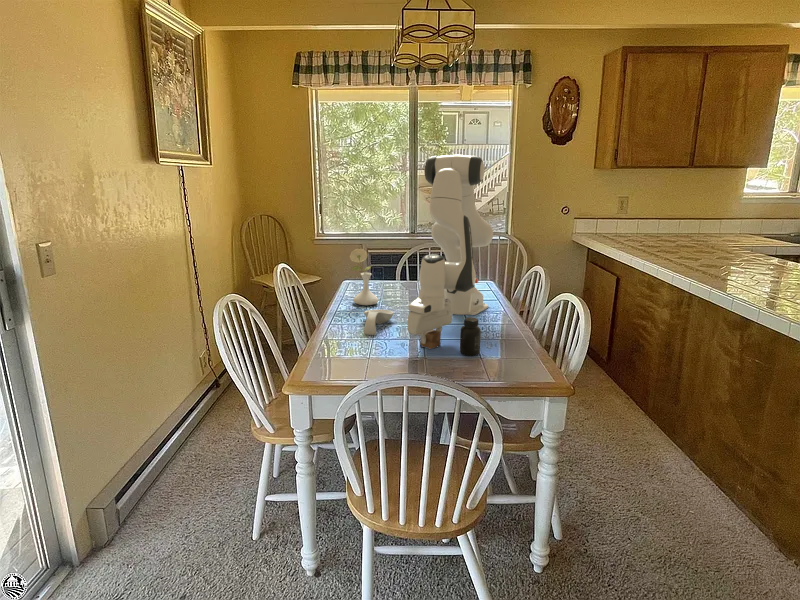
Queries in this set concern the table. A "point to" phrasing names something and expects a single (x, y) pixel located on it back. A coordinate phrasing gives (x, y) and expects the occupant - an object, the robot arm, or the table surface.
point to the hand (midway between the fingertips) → (430, 340)
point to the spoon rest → (375, 320)
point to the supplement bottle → (470, 337)
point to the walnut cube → (432, 339)
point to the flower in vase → (365, 295)
